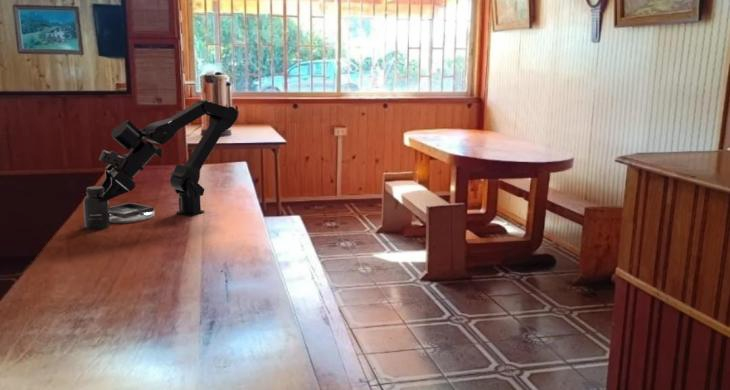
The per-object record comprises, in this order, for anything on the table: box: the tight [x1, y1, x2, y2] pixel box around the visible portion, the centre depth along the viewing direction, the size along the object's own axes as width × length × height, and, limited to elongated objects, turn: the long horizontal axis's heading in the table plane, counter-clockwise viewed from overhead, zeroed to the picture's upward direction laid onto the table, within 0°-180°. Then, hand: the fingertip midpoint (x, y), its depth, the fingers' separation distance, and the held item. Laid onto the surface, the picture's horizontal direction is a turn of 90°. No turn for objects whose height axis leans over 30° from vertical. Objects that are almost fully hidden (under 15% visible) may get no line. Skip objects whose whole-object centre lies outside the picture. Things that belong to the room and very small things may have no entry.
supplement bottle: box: [82, 185, 111, 231], centre depth 183 cm, size 7×7×12 cm
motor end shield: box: [109, 202, 155, 224], centre depth 197 cm, size 16×16×3 cm
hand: (99, 197), depth 183 cm, fingers open, 9 cm apart
